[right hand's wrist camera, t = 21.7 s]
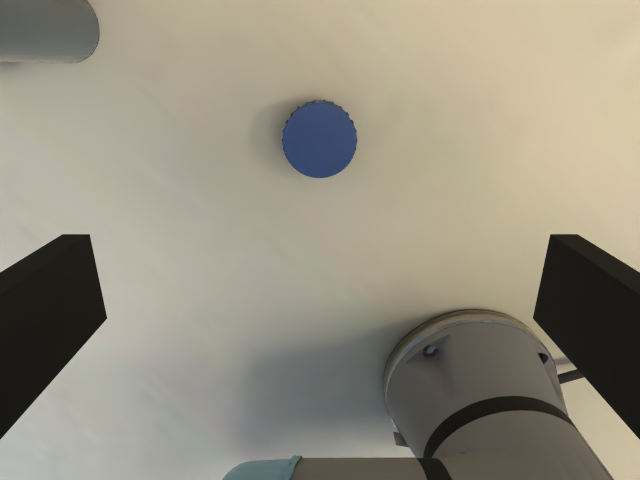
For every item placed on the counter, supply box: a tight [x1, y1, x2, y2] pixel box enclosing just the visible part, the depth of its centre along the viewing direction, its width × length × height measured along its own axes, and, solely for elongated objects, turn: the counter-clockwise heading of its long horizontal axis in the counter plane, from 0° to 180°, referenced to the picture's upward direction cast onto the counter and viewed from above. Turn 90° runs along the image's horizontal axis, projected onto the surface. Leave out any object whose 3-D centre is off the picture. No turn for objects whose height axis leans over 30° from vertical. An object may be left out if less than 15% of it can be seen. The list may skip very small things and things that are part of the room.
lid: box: [282, 100, 357, 178], centre depth 31 cm, size 5×5×2 cm
